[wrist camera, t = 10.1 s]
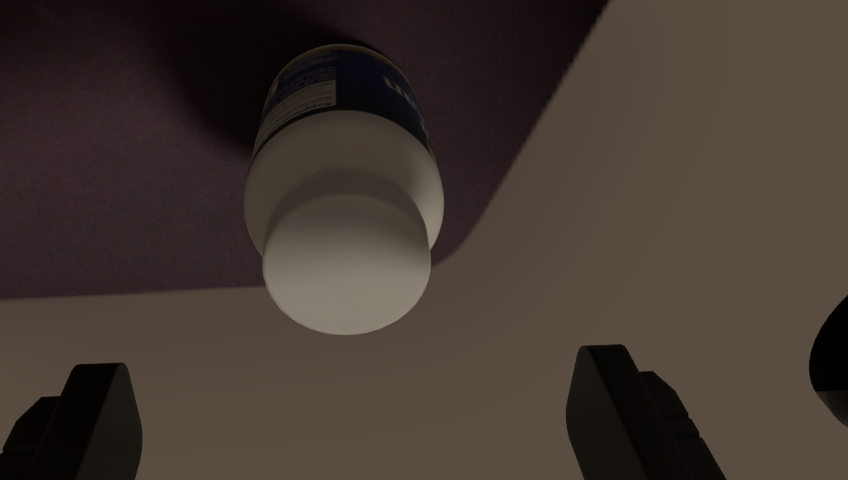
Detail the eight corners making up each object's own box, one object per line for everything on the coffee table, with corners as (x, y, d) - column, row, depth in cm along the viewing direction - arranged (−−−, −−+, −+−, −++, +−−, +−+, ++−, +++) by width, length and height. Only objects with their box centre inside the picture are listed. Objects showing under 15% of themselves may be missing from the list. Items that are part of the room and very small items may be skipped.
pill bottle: (447, 134, 25) (501, 292, 17) (326, 209, 26) (323, 391, 18) (362, 6, 23) (380, 122, 14) (232, 95, 24) (178, 249, 16)
